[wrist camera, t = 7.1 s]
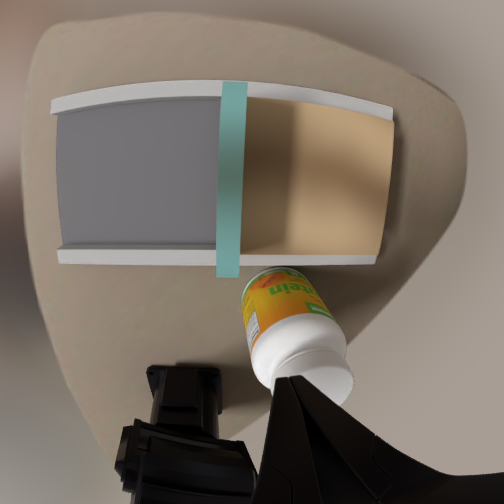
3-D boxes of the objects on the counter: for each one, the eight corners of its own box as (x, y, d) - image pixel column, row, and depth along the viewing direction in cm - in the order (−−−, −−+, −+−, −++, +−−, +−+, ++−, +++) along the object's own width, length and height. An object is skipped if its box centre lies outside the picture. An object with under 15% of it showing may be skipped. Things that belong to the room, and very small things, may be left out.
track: (362, 254, 20) (376, 265, 18) (71, 253, 17) (57, 264, 15) (377, 110, 16) (394, 107, 14) (65, 103, 14) (50, 99, 12)
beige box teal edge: (361, 243, 18) (403, 273, 14) (216, 240, 17) (216, 277, 12) (374, 123, 16) (425, 119, 11) (220, 103, 14) (222, 81, 9)
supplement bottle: (319, 269, 20) (385, 351, 11) (301, 329, 22) (344, 422, 13) (247, 260, 19) (274, 354, 10) (235, 324, 21) (250, 429, 12)
